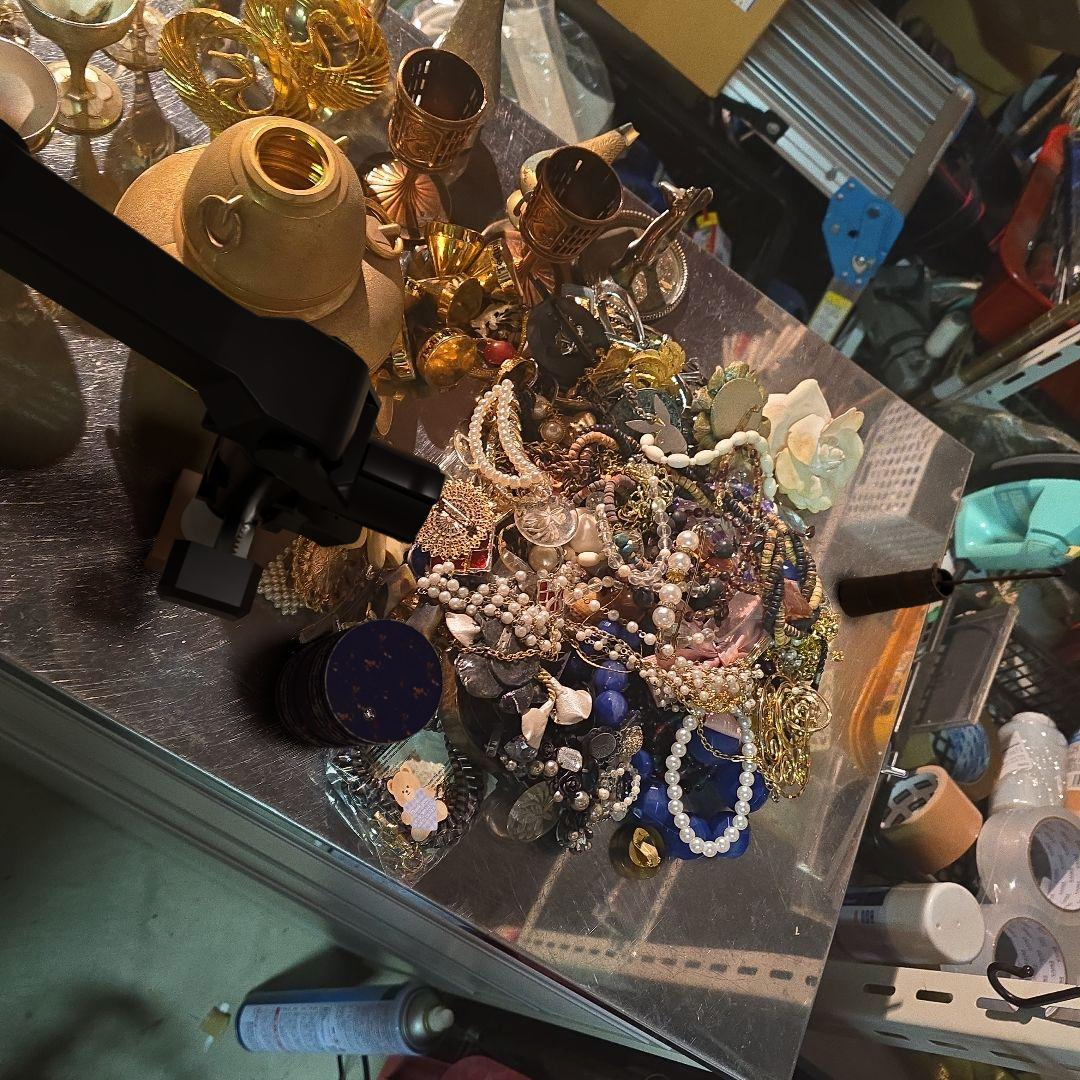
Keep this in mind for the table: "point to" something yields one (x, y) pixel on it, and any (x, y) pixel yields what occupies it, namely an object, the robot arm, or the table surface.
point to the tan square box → (175, 519)
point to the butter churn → (908, 589)
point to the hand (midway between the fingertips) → (219, 513)
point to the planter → (202, 522)
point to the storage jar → (361, 686)
